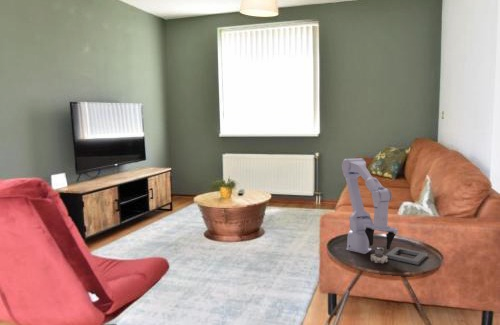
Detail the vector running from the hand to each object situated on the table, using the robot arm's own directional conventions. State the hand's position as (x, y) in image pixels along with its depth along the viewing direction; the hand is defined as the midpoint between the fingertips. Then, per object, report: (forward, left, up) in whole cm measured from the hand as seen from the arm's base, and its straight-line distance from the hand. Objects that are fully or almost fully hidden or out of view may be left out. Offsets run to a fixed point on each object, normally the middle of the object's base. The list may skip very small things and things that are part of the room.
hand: (379, 247), depth 179 cm
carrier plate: (+8, +12, -6) cm, 16 cm away
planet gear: (0, 0, -6) cm, 6 cm away
